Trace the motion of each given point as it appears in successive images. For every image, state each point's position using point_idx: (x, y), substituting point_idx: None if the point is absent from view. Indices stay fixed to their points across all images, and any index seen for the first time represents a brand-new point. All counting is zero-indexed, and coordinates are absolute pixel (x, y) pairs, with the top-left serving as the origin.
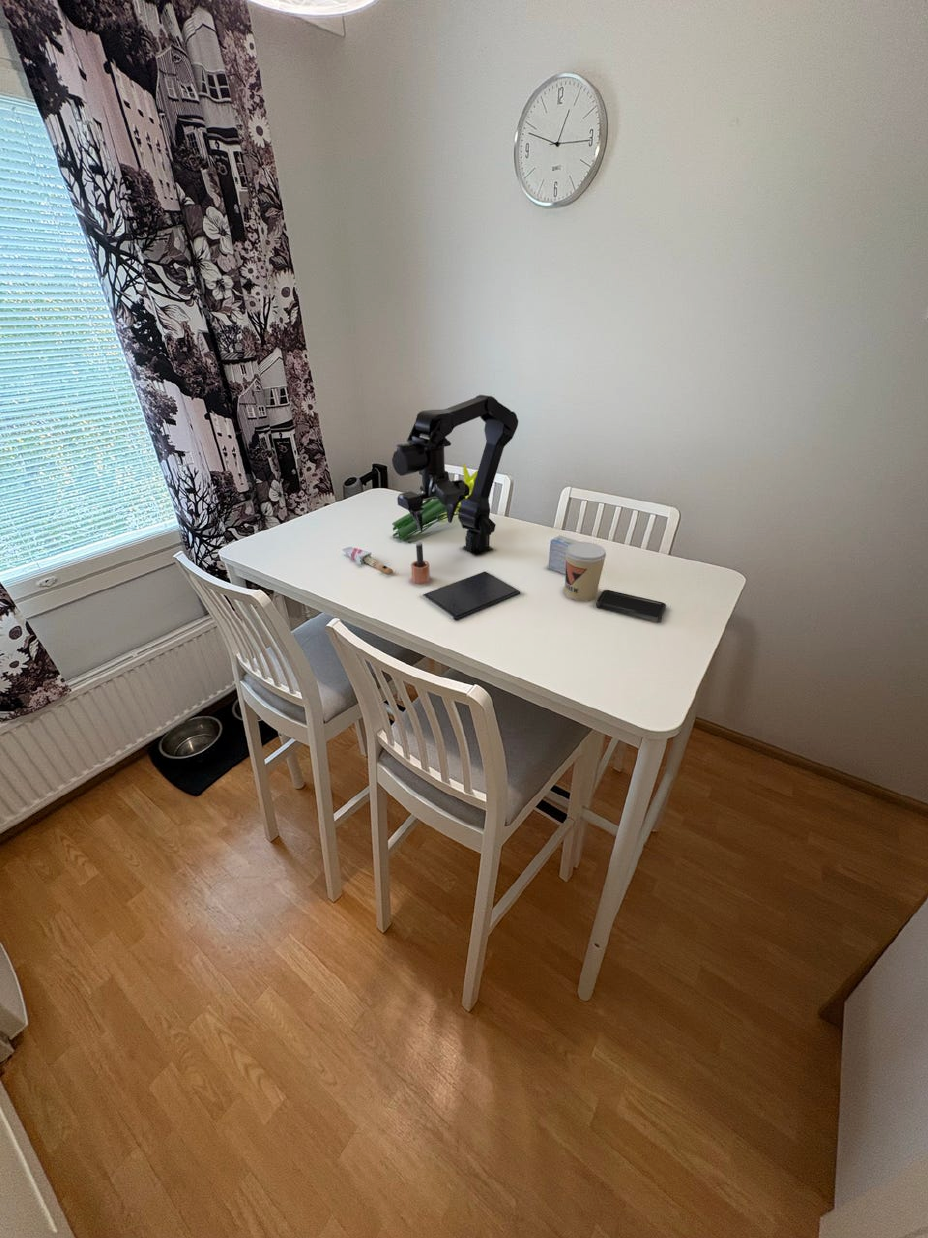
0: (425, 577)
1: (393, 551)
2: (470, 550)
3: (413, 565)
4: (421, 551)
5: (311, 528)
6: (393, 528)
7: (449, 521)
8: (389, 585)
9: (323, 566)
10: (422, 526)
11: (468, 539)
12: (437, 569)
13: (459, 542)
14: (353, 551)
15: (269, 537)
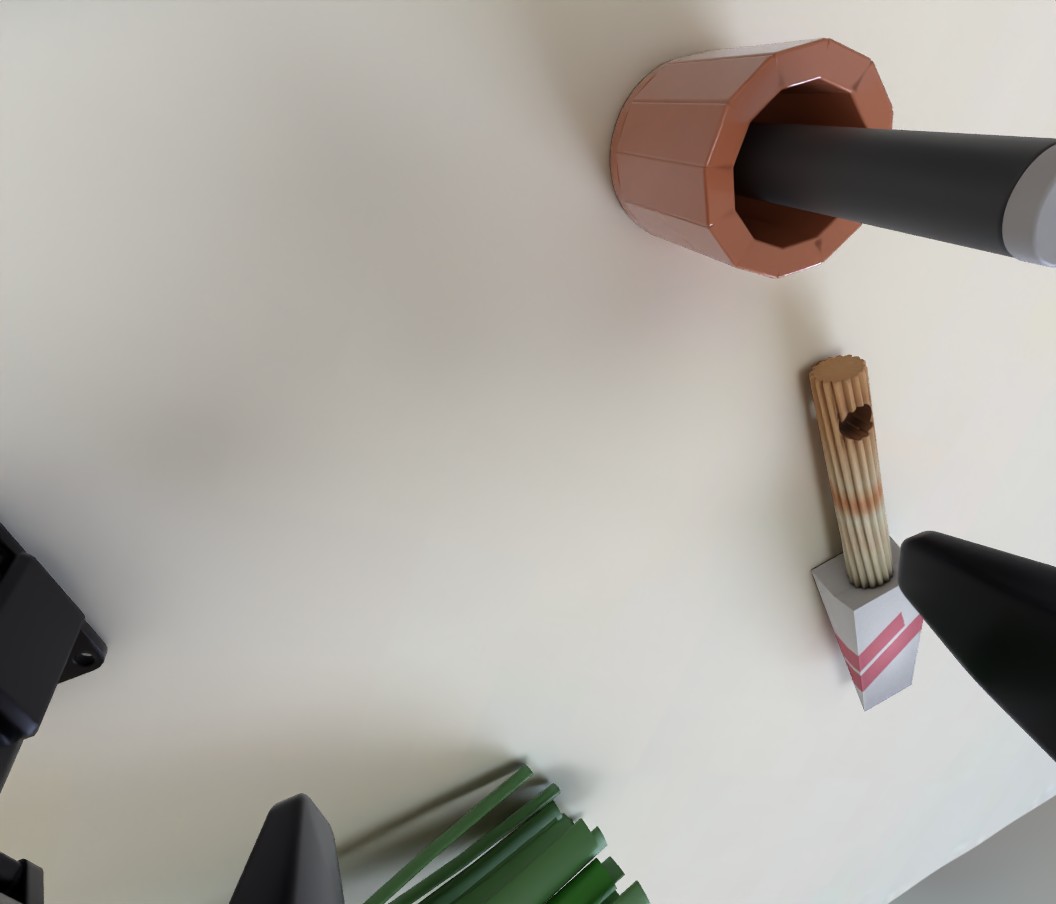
0: (723, 52)
1: (650, 668)
2: (28, 564)
3: None
4: (953, 138)
5: (849, 881)
6: (619, 870)
7: (315, 826)
8: None
9: None
10: (1006, 578)
11: (5, 679)
12: (467, 330)
13: (125, 752)
14: (896, 651)
15: (996, 815)
